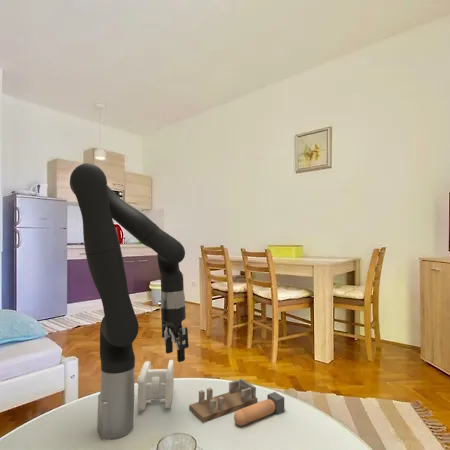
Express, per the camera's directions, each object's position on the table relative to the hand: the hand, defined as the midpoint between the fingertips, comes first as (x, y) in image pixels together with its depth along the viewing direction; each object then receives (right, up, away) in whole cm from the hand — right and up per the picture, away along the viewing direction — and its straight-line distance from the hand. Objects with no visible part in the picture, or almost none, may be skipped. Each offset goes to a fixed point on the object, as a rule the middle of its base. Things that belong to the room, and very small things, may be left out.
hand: (175, 356), depth 97 cm
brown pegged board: (+15, -18, +4) cm, 24 cm away
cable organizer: (-7, -18, +6) cm, 20 cm away
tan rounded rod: (+26, -18, -2) cm, 31 cm away
